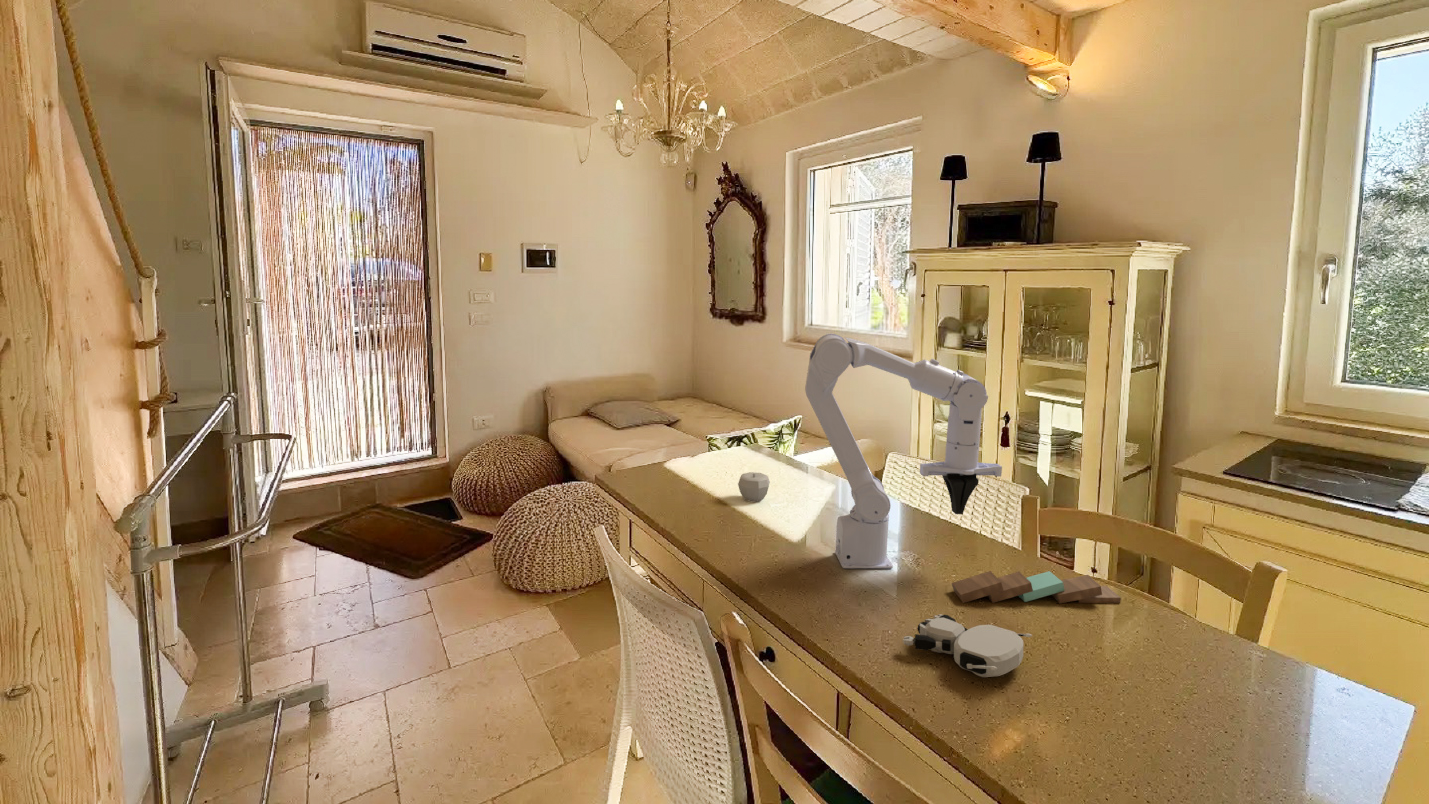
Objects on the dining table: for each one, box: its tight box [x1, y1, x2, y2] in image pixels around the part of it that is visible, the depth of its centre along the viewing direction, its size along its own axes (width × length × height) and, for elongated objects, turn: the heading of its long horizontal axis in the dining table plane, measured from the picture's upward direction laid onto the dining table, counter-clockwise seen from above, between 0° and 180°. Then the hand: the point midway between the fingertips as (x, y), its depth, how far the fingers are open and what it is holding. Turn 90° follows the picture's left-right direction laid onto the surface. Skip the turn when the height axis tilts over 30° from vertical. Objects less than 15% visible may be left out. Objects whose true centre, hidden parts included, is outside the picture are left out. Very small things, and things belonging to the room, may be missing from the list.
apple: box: [737, 471, 770, 503], centre depth 168 cm, size 8×8×7 cm
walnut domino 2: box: [986, 571, 1033, 604], centre depth 119 cm, size 2×4×7 cm
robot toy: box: [902, 613, 1033, 678], centre depth 100 cm, size 12×4×15 cm
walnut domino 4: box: [1075, 585, 1122, 604], centre depth 119 cm, size 2×4×7 cm
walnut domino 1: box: [951, 570, 1003, 604], centre depth 119 cm, size 2×4×7 cm
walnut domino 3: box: [1050, 574, 1102, 604], centre depth 119 cm, size 2×4×7 cm
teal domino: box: [1017, 570, 1065, 603], centre depth 119 cm, size 2×4×7 cm
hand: (957, 512), depth 130 cm, fingers closed
